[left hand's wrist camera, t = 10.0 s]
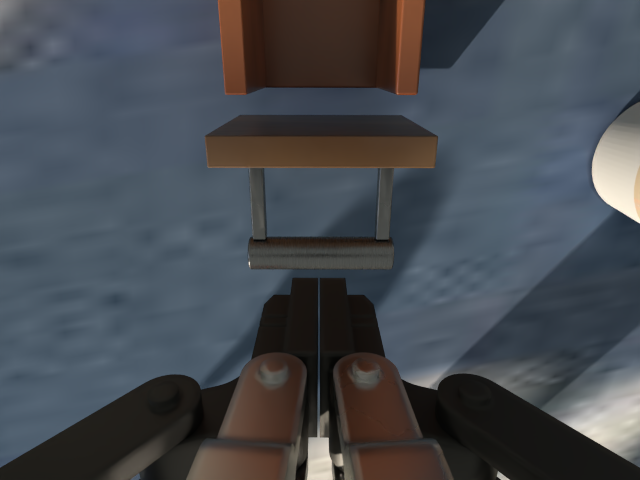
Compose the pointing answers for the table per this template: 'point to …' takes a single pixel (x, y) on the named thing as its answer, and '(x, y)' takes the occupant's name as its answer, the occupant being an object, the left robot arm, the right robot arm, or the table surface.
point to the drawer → (321, 130)
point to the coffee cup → (620, 164)
